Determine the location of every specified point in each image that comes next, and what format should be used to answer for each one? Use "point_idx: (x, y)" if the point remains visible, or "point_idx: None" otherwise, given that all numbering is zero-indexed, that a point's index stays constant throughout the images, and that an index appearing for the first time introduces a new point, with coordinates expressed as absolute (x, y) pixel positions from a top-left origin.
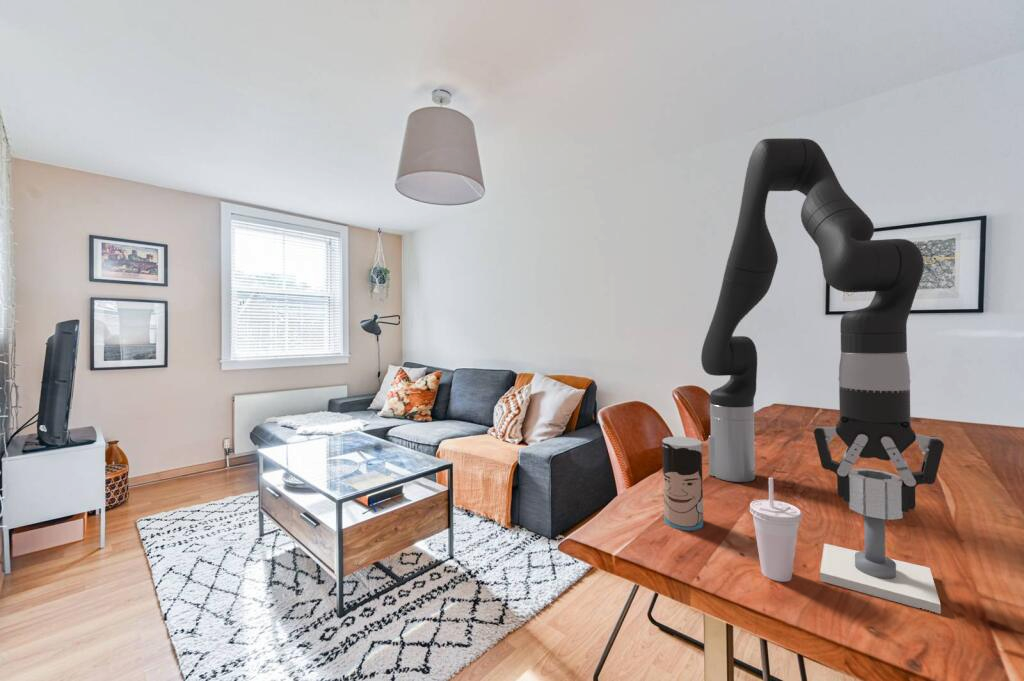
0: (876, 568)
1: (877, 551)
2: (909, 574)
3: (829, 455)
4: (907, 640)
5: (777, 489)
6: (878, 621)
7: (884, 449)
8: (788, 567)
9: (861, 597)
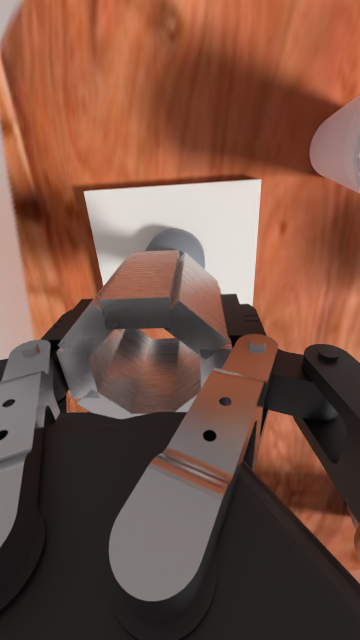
0: (170, 232)
1: None
2: None
3: (336, 403)
4: (118, 32)
5: (312, 481)
6: (163, 77)
7: (50, 471)
8: (329, 120)
9: (192, 162)
